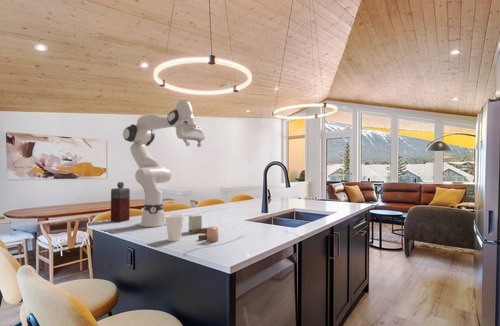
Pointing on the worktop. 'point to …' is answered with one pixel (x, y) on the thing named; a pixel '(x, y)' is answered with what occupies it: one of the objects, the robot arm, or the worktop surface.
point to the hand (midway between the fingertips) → (193, 146)
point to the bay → (196, 231)
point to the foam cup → (174, 226)
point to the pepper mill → (120, 203)
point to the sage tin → (195, 221)
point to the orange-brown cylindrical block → (212, 234)
